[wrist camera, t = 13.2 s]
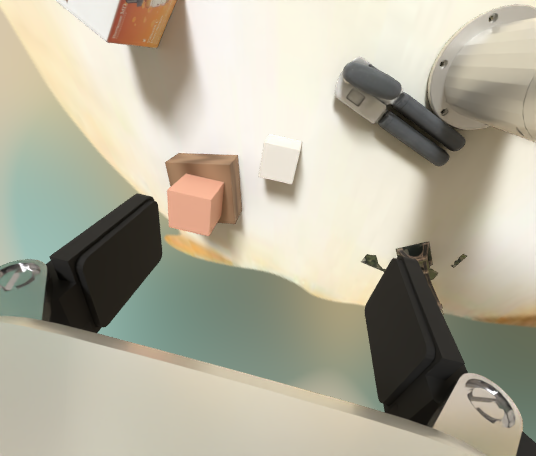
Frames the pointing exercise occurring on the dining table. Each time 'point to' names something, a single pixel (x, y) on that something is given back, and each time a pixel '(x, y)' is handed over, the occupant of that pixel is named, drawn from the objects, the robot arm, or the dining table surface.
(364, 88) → the can opener
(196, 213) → the terracotta cube
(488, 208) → the dining table surface
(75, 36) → the dining table surface
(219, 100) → the dining table surface
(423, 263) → the eiffel tower figurine
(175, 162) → the walnut base block
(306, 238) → the dining table surface
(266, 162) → the pale grey cube
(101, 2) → the small box
